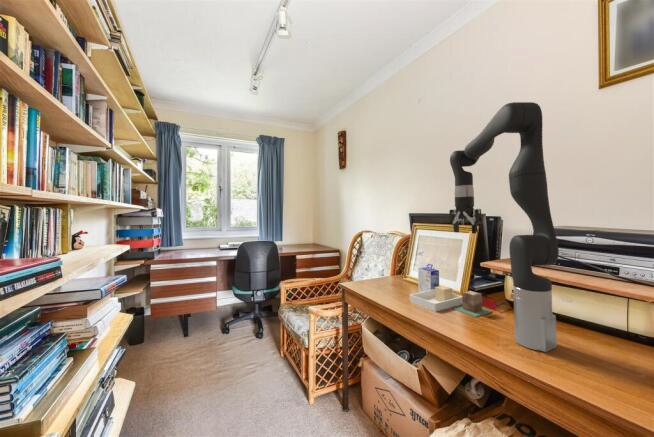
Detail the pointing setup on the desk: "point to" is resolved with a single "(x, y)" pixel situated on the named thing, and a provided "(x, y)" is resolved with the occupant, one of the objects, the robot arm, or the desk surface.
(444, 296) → the kraft block
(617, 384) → the desk surface
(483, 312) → the felt mat
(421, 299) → the bin
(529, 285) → the robot arm
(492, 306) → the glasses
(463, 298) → the labelled block
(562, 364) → the desk surface
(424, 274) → the ink cartridge box
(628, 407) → the desk surface
